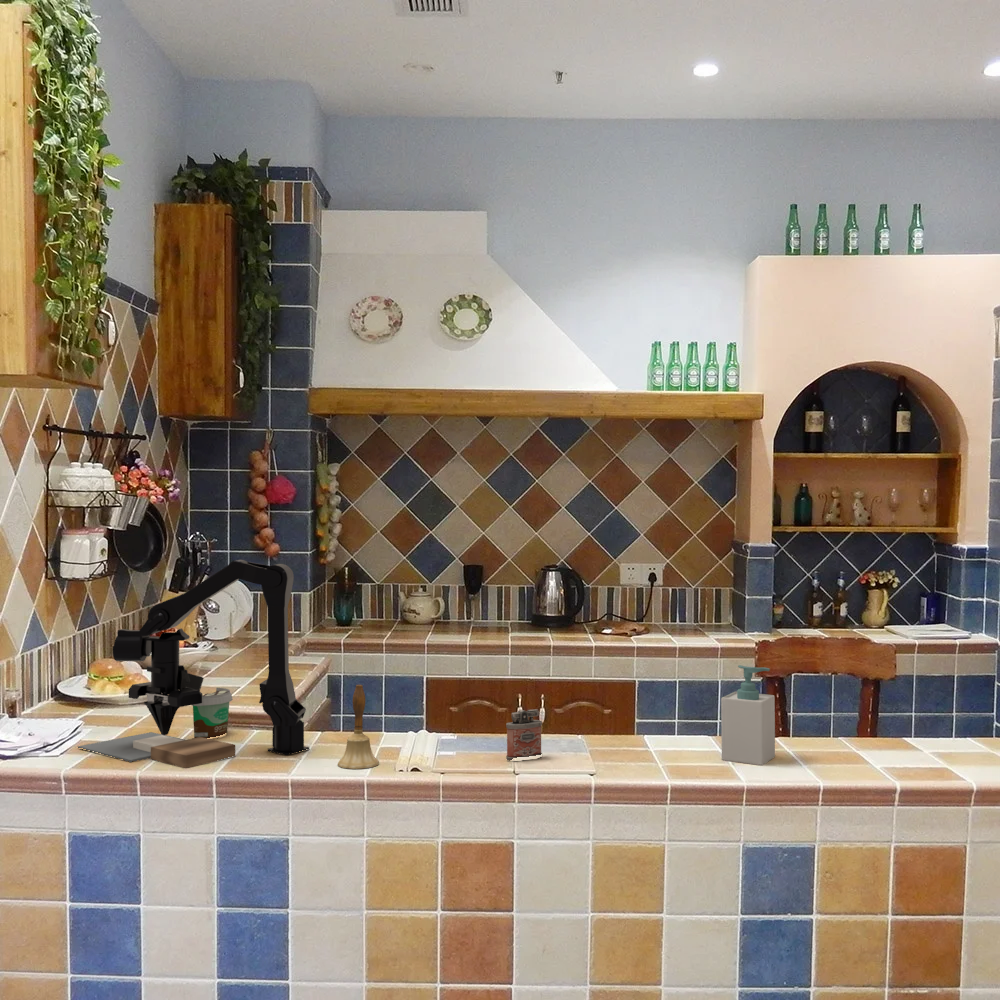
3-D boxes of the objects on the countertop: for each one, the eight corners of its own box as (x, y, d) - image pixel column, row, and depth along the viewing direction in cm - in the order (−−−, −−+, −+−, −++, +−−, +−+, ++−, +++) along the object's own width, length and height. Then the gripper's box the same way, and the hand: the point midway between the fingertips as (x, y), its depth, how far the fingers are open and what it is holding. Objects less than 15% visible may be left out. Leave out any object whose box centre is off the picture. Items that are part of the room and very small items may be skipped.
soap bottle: (763, 766, 199) (763, 670, 199) (721, 760, 204) (720, 667, 204) (776, 757, 206) (775, 665, 207) (734, 752, 211) (734, 662, 211)
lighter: (510, 762, 202) (510, 713, 202) (503, 759, 205) (503, 710, 205) (545, 758, 205) (545, 709, 206) (537, 754, 208) (537, 707, 209)
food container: (216, 742, 220) (216, 697, 220) (190, 741, 221) (191, 696, 221) (241, 731, 232) (241, 688, 232) (217, 729, 233) (217, 687, 233)
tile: (189, 748, 212) (189, 741, 212) (160, 754, 206) (160, 747, 206) (161, 742, 218) (162, 735, 218) (133, 747, 213) (133, 740, 213)
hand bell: (339, 759, 204) (339, 682, 205) (380, 759, 205) (380, 681, 205) (335, 770, 196) (336, 688, 196) (378, 769, 197) (378, 688, 197)
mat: (204, 746, 216) (204, 743, 216) (130, 762, 202) (130, 759, 202) (151, 734, 228) (151, 732, 228) (77, 748, 214) (77, 746, 214)
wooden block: (235, 756, 207) (235, 744, 207) (185, 768, 197) (186, 755, 197) (199, 748, 214) (200, 736, 214) (150, 759, 204) (150, 747, 205)
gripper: (223, 660, 213) (223, 733, 212) (172, 653, 224) (171, 723, 224) (179, 666, 204) (178, 743, 204) (127, 659, 215) (126, 731, 215)
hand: (164, 734), depth 212 cm, fingers closed
